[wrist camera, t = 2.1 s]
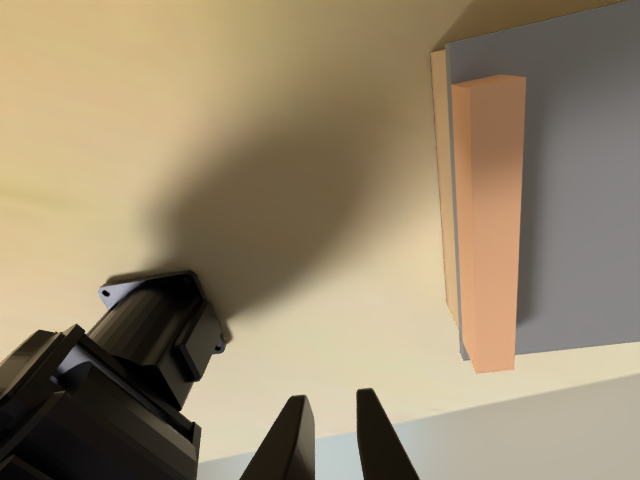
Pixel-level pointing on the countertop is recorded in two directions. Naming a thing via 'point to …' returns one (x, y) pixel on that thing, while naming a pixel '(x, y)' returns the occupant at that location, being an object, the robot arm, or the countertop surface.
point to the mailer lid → (546, 185)
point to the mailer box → (444, 176)
